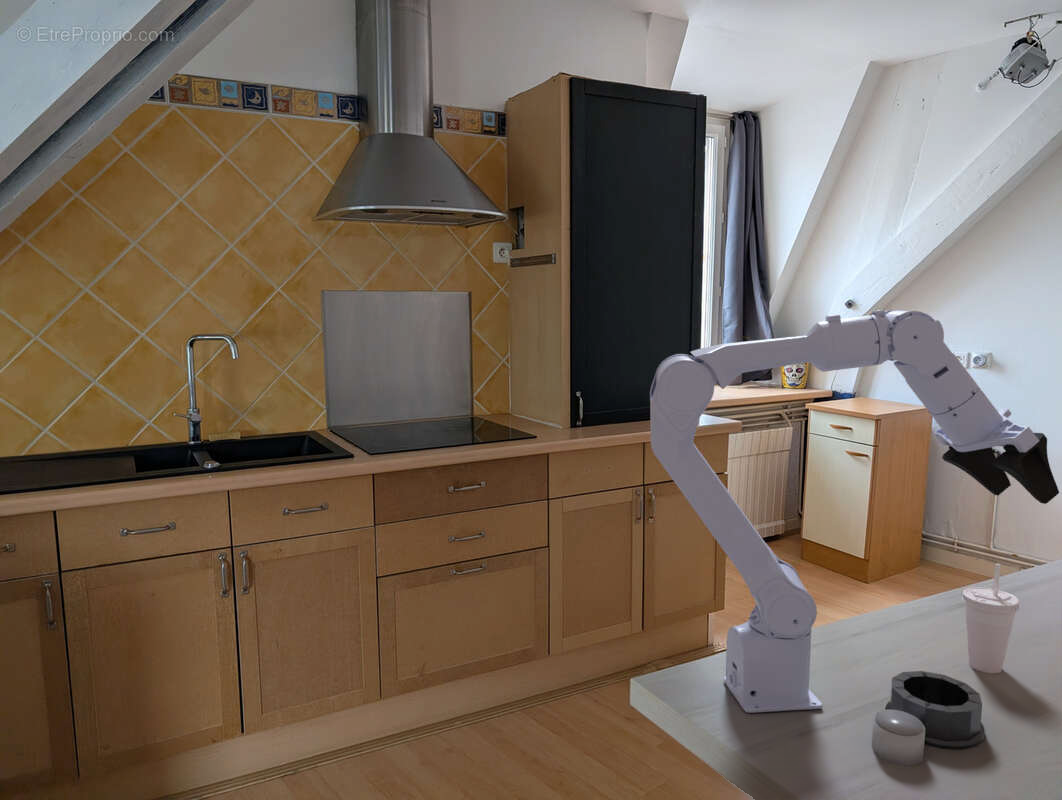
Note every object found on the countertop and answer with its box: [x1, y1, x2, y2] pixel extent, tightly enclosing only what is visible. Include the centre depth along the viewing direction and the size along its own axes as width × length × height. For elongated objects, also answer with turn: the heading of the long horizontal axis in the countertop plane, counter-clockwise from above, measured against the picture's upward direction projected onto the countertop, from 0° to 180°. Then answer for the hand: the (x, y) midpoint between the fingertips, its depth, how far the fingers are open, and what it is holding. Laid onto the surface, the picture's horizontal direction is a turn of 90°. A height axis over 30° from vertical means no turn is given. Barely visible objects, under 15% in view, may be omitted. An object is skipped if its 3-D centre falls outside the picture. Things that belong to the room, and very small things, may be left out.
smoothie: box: [961, 563, 1020, 674], centre depth 99 cm, size 6×6×14 cm
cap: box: [871, 709, 925, 766], centre depth 81 cm, size 5×5×4 cm
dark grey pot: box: [884, 670, 986, 750], centre depth 86 cm, size 10×10×4 cm
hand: (1025, 493), depth 86 cm, fingers open, 7 cm apart
